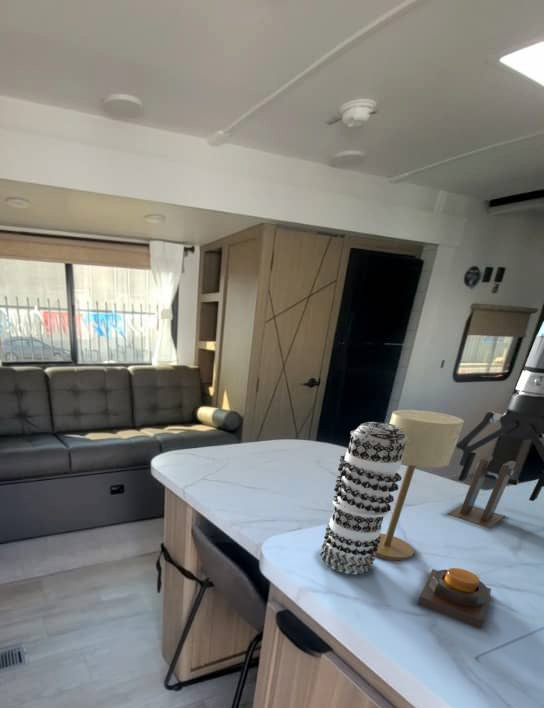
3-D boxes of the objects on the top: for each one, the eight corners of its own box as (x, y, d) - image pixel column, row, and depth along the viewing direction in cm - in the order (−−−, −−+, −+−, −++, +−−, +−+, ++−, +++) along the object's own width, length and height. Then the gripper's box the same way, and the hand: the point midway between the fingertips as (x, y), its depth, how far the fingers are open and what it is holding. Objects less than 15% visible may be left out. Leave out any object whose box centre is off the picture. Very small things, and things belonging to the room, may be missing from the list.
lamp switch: (483, 480, 94) (488, 470, 94) (515, 488, 90) (520, 478, 90) (474, 468, 86) (479, 457, 86) (508, 476, 82) (514, 465, 81)
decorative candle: (307, 552, 75) (336, 418, 64) (355, 551, 76) (391, 418, 65) (330, 581, 67) (368, 433, 56) (383, 580, 68) (430, 433, 57)
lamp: (407, 543, 80) (451, 412, 68) (421, 570, 71) (474, 426, 60) (352, 534, 82) (387, 407, 71) (359, 560, 73) (399, 420, 62)
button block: (428, 579, 68) (435, 559, 67) (486, 600, 64) (495, 579, 62) (415, 607, 62) (423, 586, 60) (478, 633, 57) (489, 610, 55)
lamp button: (446, 574, 64) (449, 564, 63) (476, 584, 61) (481, 574, 61) (441, 585, 61) (445, 575, 60) (473, 596, 59) (478, 586, 58)
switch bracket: (462, 507, 96) (484, 451, 90) (502, 520, 90) (529, 461, 84) (445, 518, 90) (467, 459, 84) (487, 532, 84) (514, 470, 78)
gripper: (461, 386, 90) (430, 475, 100) (618, 407, 73) (562, 513, 82) (474, 383, 94) (442, 469, 104) (625, 403, 77) (571, 504, 86)
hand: (495, 489), depth 93 cm, fingers open, 13 cm apart
